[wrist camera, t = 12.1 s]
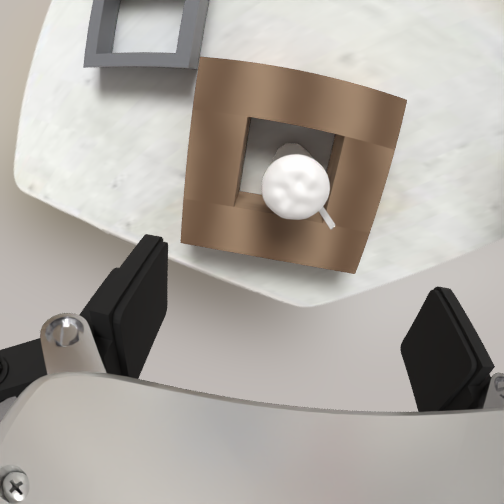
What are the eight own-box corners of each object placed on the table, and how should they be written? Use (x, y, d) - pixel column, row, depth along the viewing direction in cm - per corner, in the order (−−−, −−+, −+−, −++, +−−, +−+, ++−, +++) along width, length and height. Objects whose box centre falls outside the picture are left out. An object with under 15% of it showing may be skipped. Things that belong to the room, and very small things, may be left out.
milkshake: (301, 199, 30) (309, 251, 21) (256, 163, 29) (244, 202, 20) (334, 163, 28) (358, 203, 19) (288, 125, 27) (293, 146, 18)
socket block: (391, 97, 24) (407, 100, 21) (347, 252, 32) (355, 273, 29) (210, 60, 24) (200, 56, 21) (191, 224, 32) (180, 242, 29)
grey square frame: (215, -29, 20) (208, -40, 17) (197, 69, 25) (188, 68, 22) (115, -24, 20) (100, -31, 17) (99, 67, 25) (83, 67, 22)
